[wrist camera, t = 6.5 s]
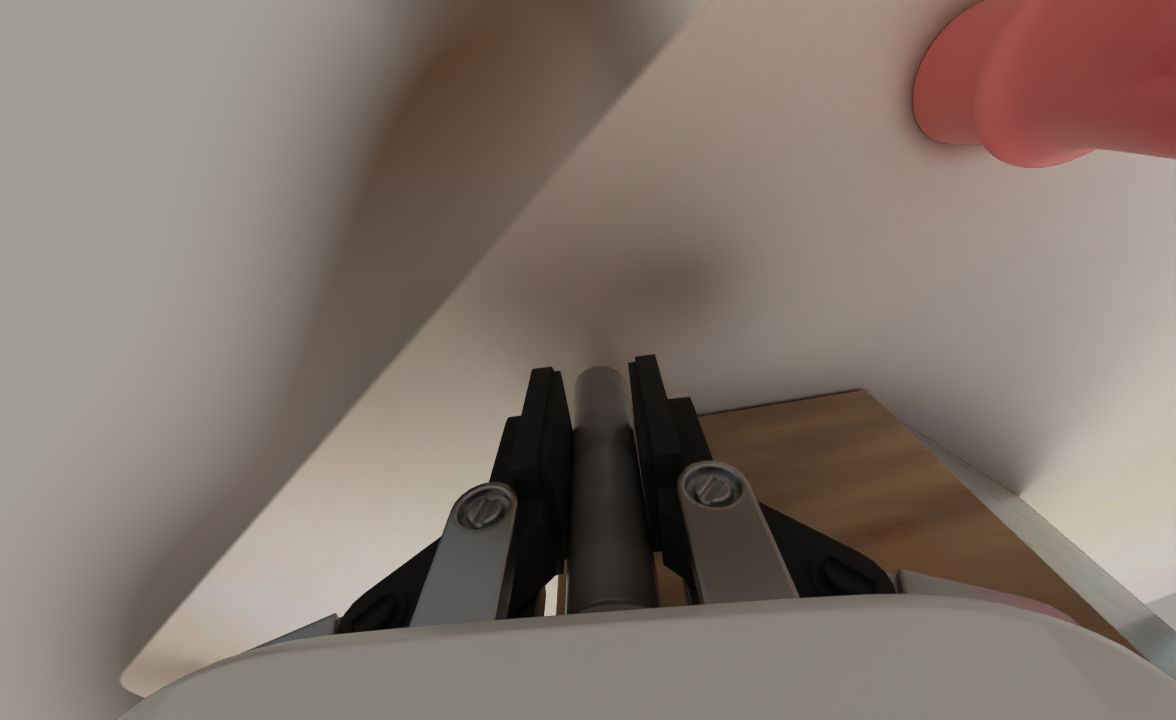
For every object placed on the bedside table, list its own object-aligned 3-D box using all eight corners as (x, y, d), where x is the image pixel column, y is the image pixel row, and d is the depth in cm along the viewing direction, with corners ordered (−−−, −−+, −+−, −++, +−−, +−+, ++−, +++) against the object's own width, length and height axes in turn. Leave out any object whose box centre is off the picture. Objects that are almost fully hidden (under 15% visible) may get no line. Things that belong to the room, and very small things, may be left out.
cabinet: (687, 564, 26) (809, 1092, 12) (872, 403, 20) (1558, 1069, 6) (825, 622, 29) (1052, 1092, 15) (1020, 497, 23) (1695, 1077, 9)
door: (535, 330, 18) (363, 1037, 4) (882, 265, 16) (2388, 979, 3) (570, 452, 21) (543, 1069, 7) (862, 406, 20) (1491, 1049, 6)
